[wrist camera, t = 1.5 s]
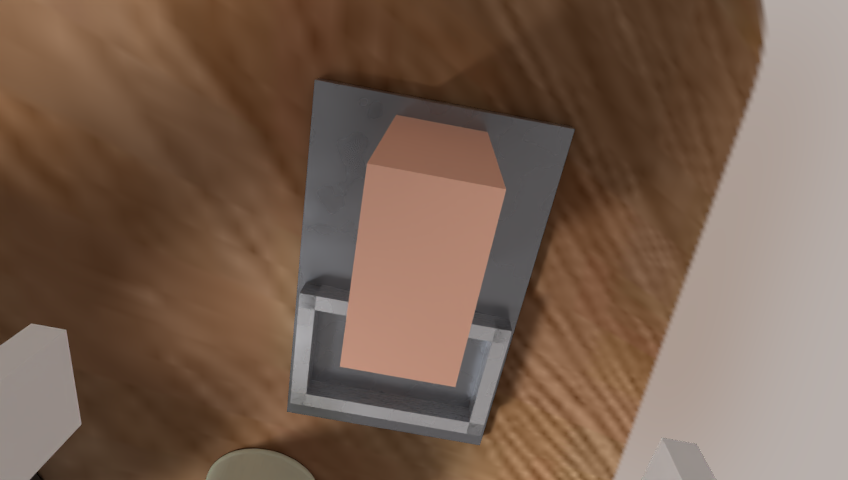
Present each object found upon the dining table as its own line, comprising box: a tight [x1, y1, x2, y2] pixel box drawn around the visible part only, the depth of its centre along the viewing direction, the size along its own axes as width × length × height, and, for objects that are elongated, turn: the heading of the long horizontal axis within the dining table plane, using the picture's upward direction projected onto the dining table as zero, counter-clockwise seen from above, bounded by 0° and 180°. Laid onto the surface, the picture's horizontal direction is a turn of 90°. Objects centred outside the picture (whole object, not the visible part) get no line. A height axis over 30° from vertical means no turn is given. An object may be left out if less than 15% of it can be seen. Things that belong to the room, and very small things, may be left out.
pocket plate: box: [287, 78, 575, 445], centre depth 31 cm, size 23×14×2 cm, turn 170°
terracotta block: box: [340, 115, 506, 387], centre depth 24 cm, size 9×5×10 cm, turn 170°
